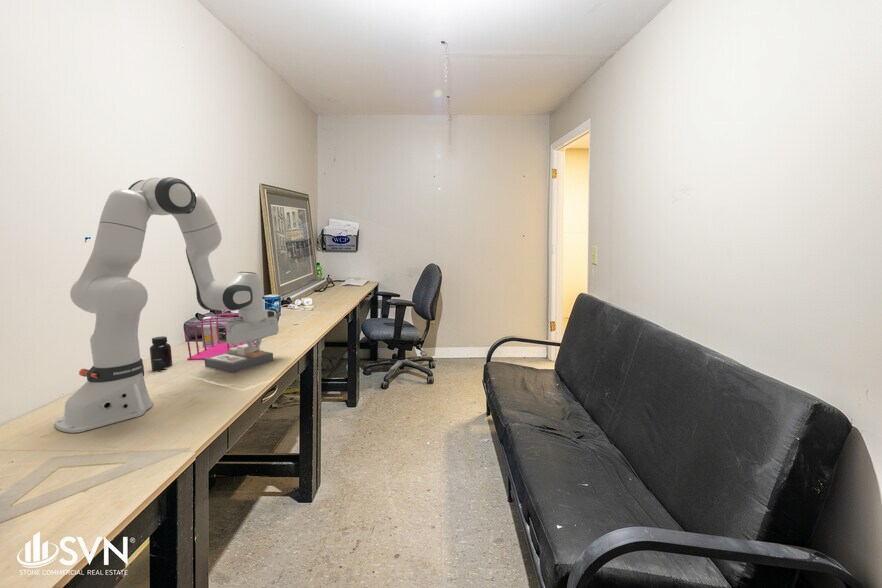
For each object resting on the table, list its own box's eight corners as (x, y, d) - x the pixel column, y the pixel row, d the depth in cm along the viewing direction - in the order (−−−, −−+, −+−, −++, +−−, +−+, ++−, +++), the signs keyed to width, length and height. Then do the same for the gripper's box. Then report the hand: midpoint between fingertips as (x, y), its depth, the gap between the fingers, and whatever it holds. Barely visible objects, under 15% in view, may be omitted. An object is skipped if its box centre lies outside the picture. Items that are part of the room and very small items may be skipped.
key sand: (244, 358, 175) (243, 347, 174) (237, 356, 177) (236, 346, 176) (254, 355, 178) (254, 344, 178) (247, 353, 181) (246, 343, 180)
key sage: (236, 360, 178) (235, 350, 177) (229, 359, 180) (228, 348, 179) (246, 357, 181) (245, 347, 181) (239, 356, 184) (238, 346, 183)
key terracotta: (254, 364, 172) (253, 353, 171) (247, 362, 174) (246, 352, 174) (264, 361, 176) (263, 350, 175) (257, 359, 178) (256, 349, 177)
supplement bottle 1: (153, 372, 170) (150, 340, 169) (150, 369, 176) (146, 337, 174) (175, 368, 175) (171, 337, 173) (170, 365, 180) (167, 334, 178)
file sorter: (187, 363, 183) (182, 323, 180) (218, 346, 207) (215, 312, 205) (231, 362, 182) (227, 322, 180) (257, 345, 207) (254, 311, 205)
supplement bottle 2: (214, 342, 214) (212, 315, 212) (222, 344, 210) (219, 316, 209) (200, 346, 209) (197, 318, 207) (208, 348, 205) (205, 319, 203)
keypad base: (233, 375, 164) (232, 363, 163) (205, 369, 173) (204, 357, 172) (273, 363, 178) (272, 351, 178) (245, 357, 187) (244, 346, 186)
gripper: (231, 321, 162) (235, 359, 164) (279, 311, 179) (282, 346, 181) (220, 319, 165) (224, 357, 167) (269, 309, 182) (271, 344, 184)
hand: (255, 351), depth 174 cm, fingers closed, pressing on key terracotta
